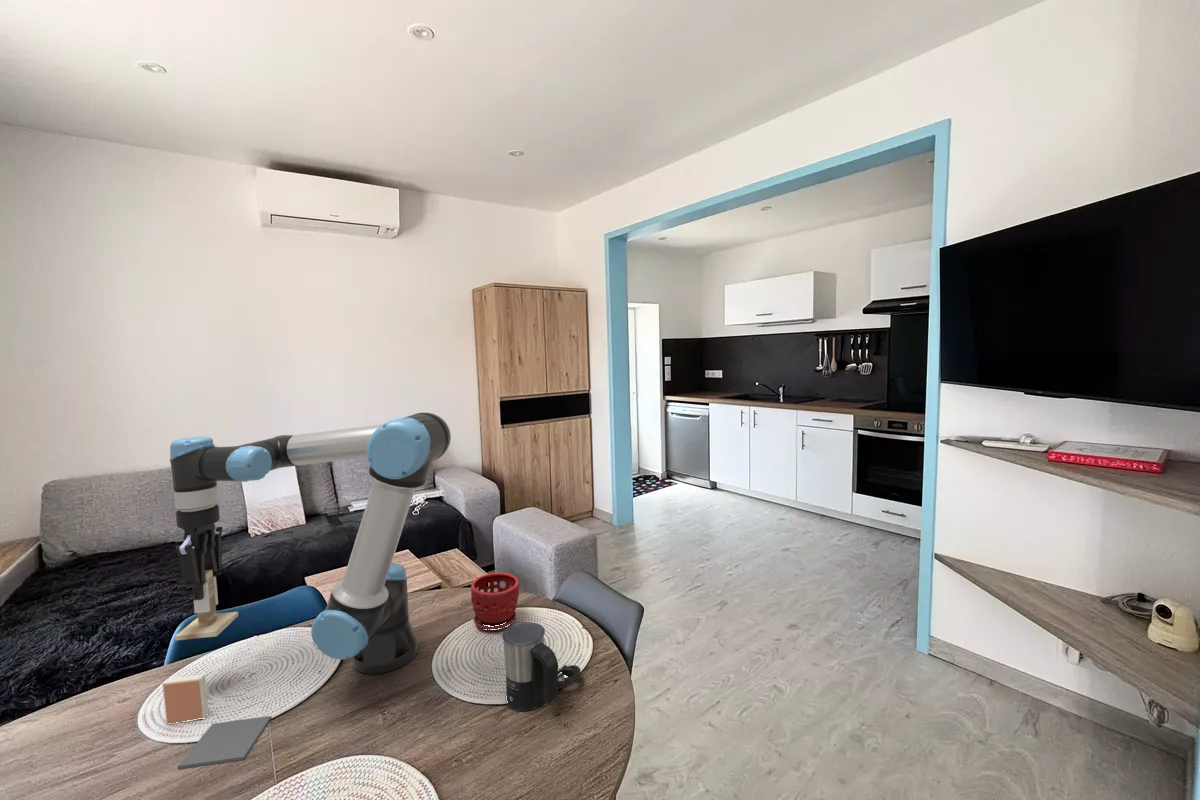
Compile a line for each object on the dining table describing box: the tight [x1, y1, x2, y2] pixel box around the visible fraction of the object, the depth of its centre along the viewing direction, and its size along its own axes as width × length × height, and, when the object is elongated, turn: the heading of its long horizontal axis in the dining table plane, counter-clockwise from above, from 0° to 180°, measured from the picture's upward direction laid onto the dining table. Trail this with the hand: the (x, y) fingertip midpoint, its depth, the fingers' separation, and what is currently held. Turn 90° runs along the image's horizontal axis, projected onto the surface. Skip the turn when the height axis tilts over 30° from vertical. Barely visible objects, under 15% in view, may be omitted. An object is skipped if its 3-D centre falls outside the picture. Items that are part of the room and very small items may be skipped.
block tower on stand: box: [174, 570, 239, 641], centre depth 114 cm, size 8×9×13 cm
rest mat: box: [177, 715, 272, 770], centre depth 99 cm, size 11×11×1 cm
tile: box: [162, 673, 210, 725], centre depth 105 cm, size 7×2×9 cm, turn 100°
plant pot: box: [470, 572, 520, 630], centre depth 141 cm, size 13×13×12 cm
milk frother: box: [501, 621, 582, 712], centre depth 111 cm, size 14×16×15 cm
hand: (206, 608), depth 114 cm, fingers closed on block tower on stand, 2 cm apart
